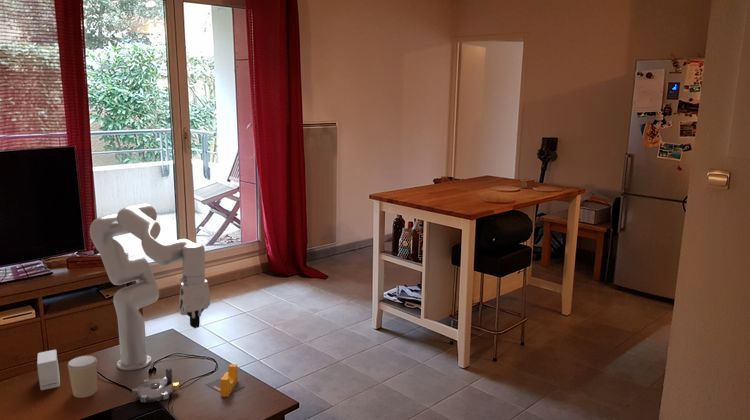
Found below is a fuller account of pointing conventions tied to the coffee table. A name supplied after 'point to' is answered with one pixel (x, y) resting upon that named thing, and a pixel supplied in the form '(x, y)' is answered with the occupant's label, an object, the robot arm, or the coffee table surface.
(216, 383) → the mat
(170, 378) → the sprocket
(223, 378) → the pipe clamp
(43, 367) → the skincare box
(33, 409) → the coffee table surface
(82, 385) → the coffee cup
